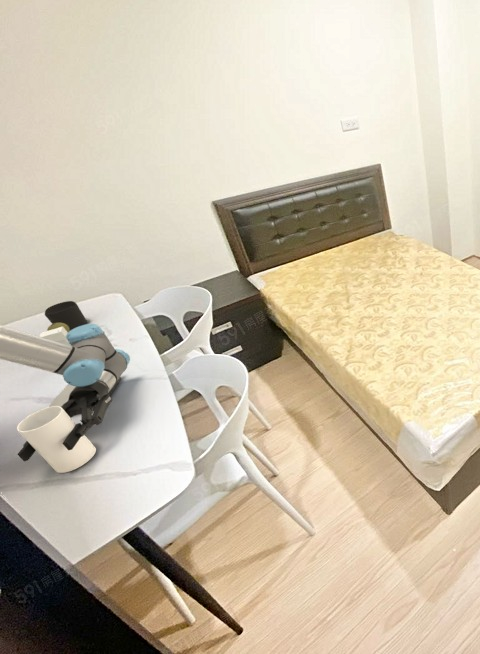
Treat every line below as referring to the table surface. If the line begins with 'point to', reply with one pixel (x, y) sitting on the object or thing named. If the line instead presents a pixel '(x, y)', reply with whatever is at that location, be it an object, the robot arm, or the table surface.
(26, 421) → the cup
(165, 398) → the table surface
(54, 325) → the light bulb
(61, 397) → the scale
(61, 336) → the cosmetic box
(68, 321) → the pen holder
